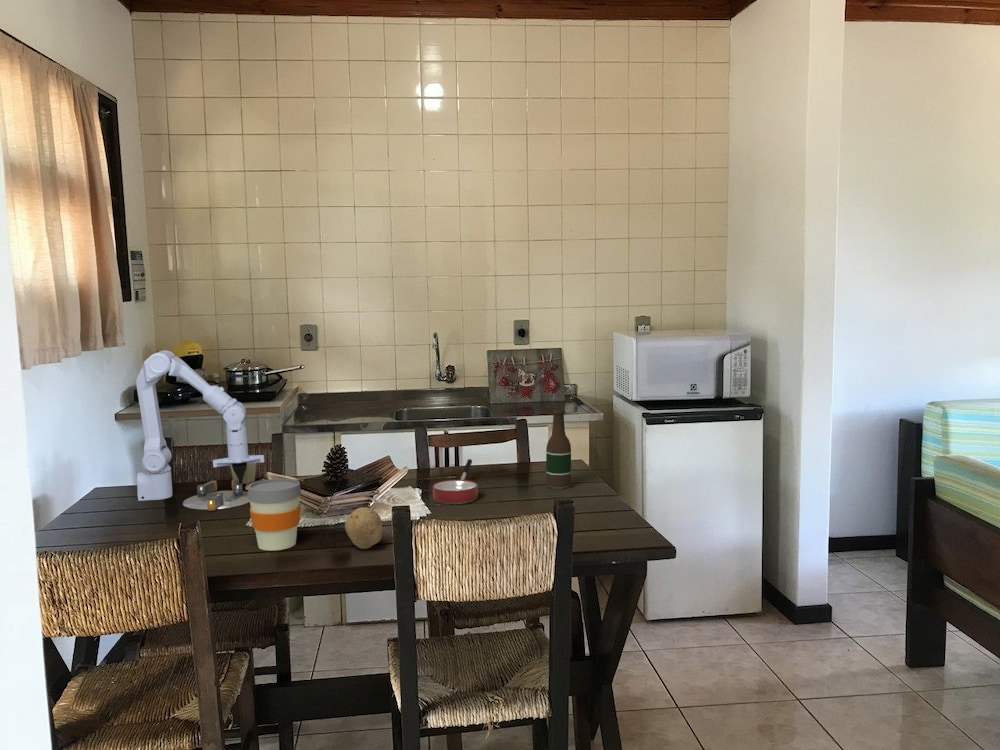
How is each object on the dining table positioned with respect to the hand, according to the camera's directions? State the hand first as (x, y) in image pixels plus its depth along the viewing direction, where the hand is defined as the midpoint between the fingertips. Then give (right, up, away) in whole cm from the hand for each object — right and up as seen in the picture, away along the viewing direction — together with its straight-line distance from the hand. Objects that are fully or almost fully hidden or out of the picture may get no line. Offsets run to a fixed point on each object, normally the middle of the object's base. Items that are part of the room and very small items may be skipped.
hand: (240, 488), depth 250 cm
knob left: (-9, -1, -2) cm, 10 cm away
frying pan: (+65, -2, +2) cm, 65 cm away
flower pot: (-3, -1, +13) cm, 13 cm away
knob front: (-2, -3, -17) cm, 17 cm away
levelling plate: (-4, -3, -8) cm, 10 cm away
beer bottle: (+96, -1, +6) cm, 96 cm away
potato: (+45, -8, -49) cm, 67 cm away
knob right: (-1, -1, -1) cm, 2 cm away
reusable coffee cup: (+23, -8, -46) cm, 52 cm away
